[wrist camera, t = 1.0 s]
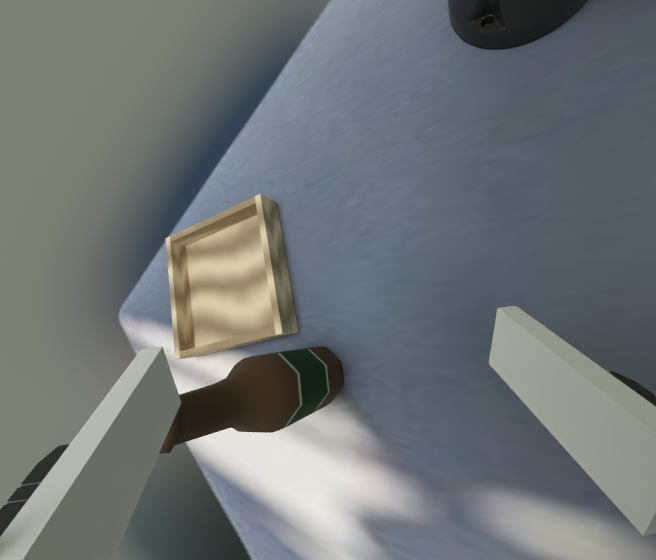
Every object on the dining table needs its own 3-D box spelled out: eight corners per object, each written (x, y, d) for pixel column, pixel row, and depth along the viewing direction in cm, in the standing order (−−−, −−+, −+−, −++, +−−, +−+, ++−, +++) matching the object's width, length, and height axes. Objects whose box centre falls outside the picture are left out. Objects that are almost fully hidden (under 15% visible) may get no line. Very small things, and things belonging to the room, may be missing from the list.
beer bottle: (337, 414, 40) (171, 520, 19) (288, 392, 44) (100, 459, 22) (352, 355, 40) (202, 392, 19) (301, 337, 44) (127, 352, 22)
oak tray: (185, 243, 56) (165, 238, 53) (276, 203, 48) (260, 193, 45) (196, 356, 52) (175, 359, 48) (298, 332, 44) (282, 333, 40)
